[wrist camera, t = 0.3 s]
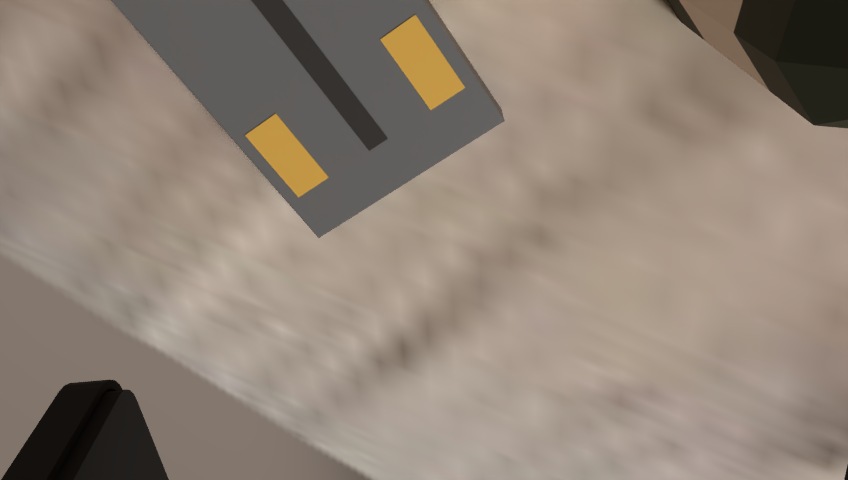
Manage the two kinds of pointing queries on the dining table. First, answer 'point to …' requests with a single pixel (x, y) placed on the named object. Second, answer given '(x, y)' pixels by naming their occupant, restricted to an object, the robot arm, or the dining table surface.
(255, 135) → the fader console
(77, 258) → the dining table surface
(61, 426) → the robot arm
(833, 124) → the wine bottle
